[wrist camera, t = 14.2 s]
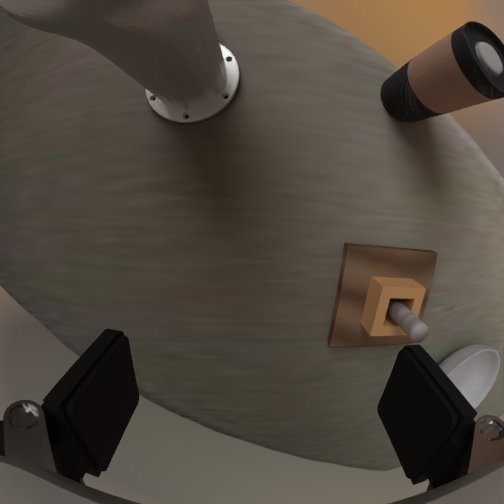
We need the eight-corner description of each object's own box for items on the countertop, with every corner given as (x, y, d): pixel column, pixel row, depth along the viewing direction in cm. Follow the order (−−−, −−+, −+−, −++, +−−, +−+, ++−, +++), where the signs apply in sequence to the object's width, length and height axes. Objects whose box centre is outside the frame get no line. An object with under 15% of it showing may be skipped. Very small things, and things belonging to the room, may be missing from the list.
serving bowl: (387, 413, 44) (398, 436, 37) (442, 324, 39) (463, 343, 33) (448, 412, 45) (460, 430, 39) (496, 338, 40) (513, 353, 34)
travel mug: (428, 124, 32) (527, 101, 12) (386, 125, 32) (484, 91, 13) (414, 77, 30) (500, 30, 10) (372, 75, 30) (451, 11, 11)
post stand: (344, 243, 36) (378, 268, 25) (432, 250, 36) (479, 273, 25) (327, 341, 40) (347, 390, 28) (410, 338, 40) (443, 377, 28)
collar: (371, 276, 36) (382, 286, 32) (412, 278, 36) (425, 288, 32) (360, 322, 37) (369, 336, 33) (400, 322, 37) (412, 334, 33)
